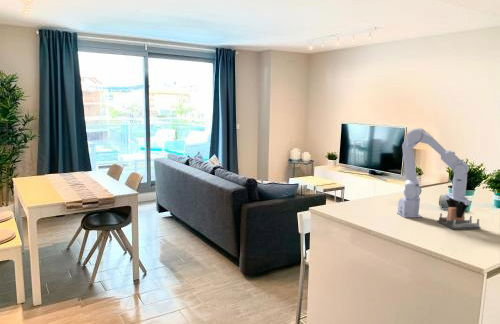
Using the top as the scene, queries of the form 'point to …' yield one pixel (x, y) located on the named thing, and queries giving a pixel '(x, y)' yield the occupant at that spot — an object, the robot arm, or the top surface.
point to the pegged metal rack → (458, 223)
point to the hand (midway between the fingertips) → (455, 216)
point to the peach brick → (454, 214)
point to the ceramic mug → (443, 202)
